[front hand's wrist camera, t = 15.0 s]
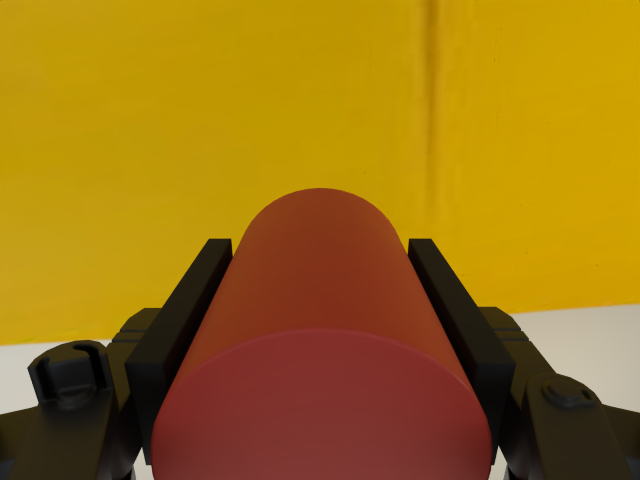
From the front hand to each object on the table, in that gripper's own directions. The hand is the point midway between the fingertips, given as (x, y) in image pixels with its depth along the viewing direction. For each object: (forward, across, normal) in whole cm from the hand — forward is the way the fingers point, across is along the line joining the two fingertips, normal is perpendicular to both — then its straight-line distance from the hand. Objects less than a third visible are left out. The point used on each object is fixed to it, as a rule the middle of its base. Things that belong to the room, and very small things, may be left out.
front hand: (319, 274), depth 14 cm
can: (+1, 0, 0) cm, 1 cm away
